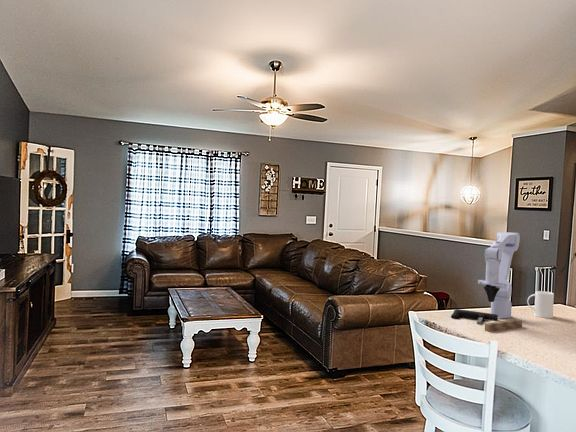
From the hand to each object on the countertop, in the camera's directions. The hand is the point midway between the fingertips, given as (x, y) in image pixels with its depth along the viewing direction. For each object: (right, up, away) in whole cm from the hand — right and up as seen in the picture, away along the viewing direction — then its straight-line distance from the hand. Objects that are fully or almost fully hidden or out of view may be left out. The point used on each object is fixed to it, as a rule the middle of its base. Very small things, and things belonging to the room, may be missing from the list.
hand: (491, 301), depth 210 cm
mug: (+32, -10, +15) cm, 36 cm away
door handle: (-7, -10, +3) cm, 12 cm away
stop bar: (0, -10, -12) cm, 15 cm away
